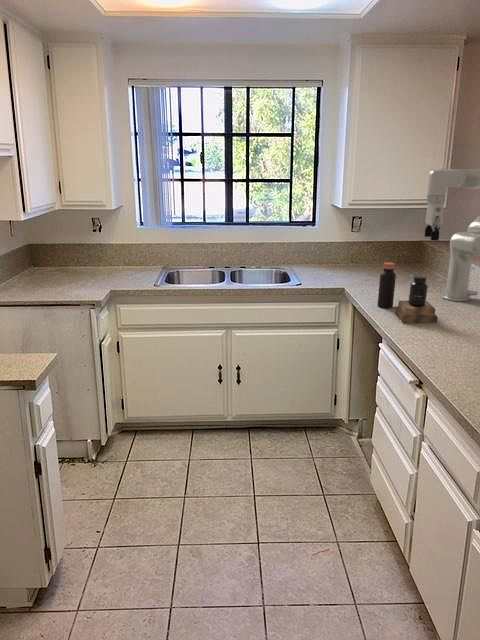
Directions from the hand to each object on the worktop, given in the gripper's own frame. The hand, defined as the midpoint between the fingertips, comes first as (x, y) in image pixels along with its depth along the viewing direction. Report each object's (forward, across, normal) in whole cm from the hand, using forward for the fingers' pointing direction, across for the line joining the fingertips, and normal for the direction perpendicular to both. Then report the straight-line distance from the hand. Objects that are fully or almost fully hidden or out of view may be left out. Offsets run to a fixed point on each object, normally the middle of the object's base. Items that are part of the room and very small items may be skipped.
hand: (431, 238), depth 232 cm
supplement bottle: (+24, -23, +10) cm, 35 cm away
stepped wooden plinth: (+30, -23, +10) cm, 39 cm away
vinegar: (+31, -6, +19) cm, 36 cm away
